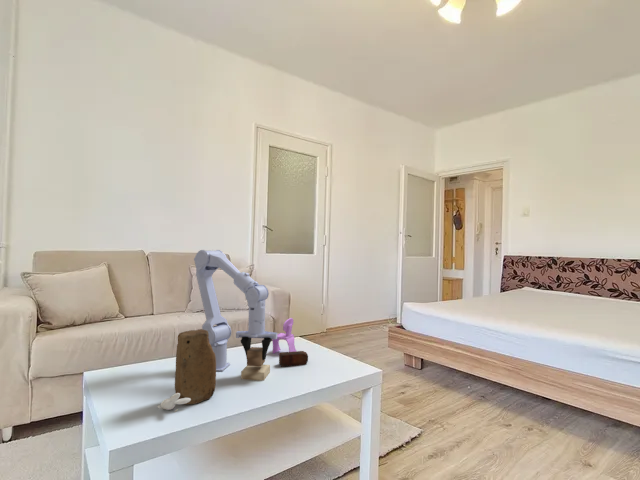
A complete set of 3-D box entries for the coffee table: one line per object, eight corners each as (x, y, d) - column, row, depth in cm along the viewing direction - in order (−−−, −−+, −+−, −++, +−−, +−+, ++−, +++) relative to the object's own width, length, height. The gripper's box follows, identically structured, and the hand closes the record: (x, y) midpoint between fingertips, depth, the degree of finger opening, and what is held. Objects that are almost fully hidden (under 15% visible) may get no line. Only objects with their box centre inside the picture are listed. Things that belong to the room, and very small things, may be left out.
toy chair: (280, 348, 155) (280, 315, 155) (297, 351, 151) (298, 316, 152) (270, 354, 147) (270, 318, 148) (288, 356, 144) (289, 320, 144)
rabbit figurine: (167, 405, 99) (192, 393, 98) (167, 419, 96) (193, 407, 96) (152, 401, 94) (179, 388, 94) (153, 416, 91) (180, 403, 91)
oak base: (241, 380, 119) (241, 371, 119) (248, 372, 126) (248, 363, 127) (263, 381, 118) (264, 372, 118) (270, 373, 126) (270, 364, 126)
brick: (281, 367, 131) (281, 355, 131) (278, 364, 134) (279, 352, 134) (308, 364, 134) (308, 352, 134) (304, 361, 138) (305, 349, 138)
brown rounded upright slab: (178, 408, 96) (180, 336, 97) (173, 398, 103) (174, 330, 103) (217, 399, 102) (218, 331, 103) (210, 390, 109) (211, 326, 109)
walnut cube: (246, 365, 120) (247, 351, 120) (251, 361, 125) (251, 347, 125) (260, 366, 119) (261, 351, 119) (264, 361, 124) (265, 347, 124)
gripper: (232, 321, 119) (232, 361, 119) (274, 322, 118) (273, 363, 117) (239, 317, 126) (239, 355, 126) (278, 318, 125) (278, 357, 124)
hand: (256, 358), depth 122 cm, fingers closed on walnut cube, 5 cm apart
